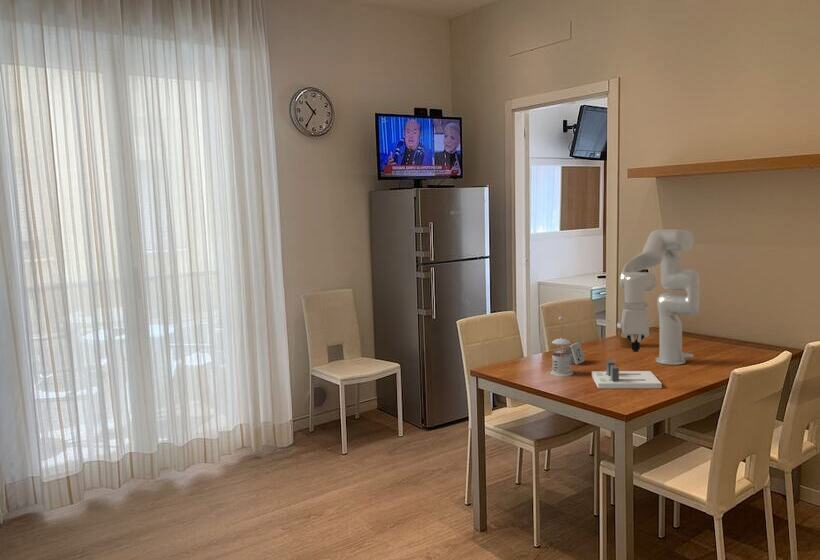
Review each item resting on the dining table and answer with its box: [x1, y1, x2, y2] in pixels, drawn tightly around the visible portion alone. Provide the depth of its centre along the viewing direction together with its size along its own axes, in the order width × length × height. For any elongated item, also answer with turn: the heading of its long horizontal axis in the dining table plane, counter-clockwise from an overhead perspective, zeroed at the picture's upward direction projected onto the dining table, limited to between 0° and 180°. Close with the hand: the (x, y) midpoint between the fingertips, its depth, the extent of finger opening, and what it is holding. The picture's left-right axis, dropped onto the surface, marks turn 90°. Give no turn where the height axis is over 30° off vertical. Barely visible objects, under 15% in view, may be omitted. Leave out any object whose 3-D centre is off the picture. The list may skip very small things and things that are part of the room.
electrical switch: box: [565, 341, 586, 366], centre depth 296 cm, size 9×5×9 cm, turn 141°
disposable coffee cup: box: [616, 321, 631, 348], centre depth 324 cm, size 10×10×12 cm
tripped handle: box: [610, 364, 620, 381], centre depth 256 cm, size 2×5×5 cm, turn 172°
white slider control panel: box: [591, 359, 663, 389], centre depth 260 cm, size 24×19×8 cm
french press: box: [550, 316, 574, 377], centre depth 278 cm, size 10×12×25 cm
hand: (635, 351), depth 255 cm, fingers closed
